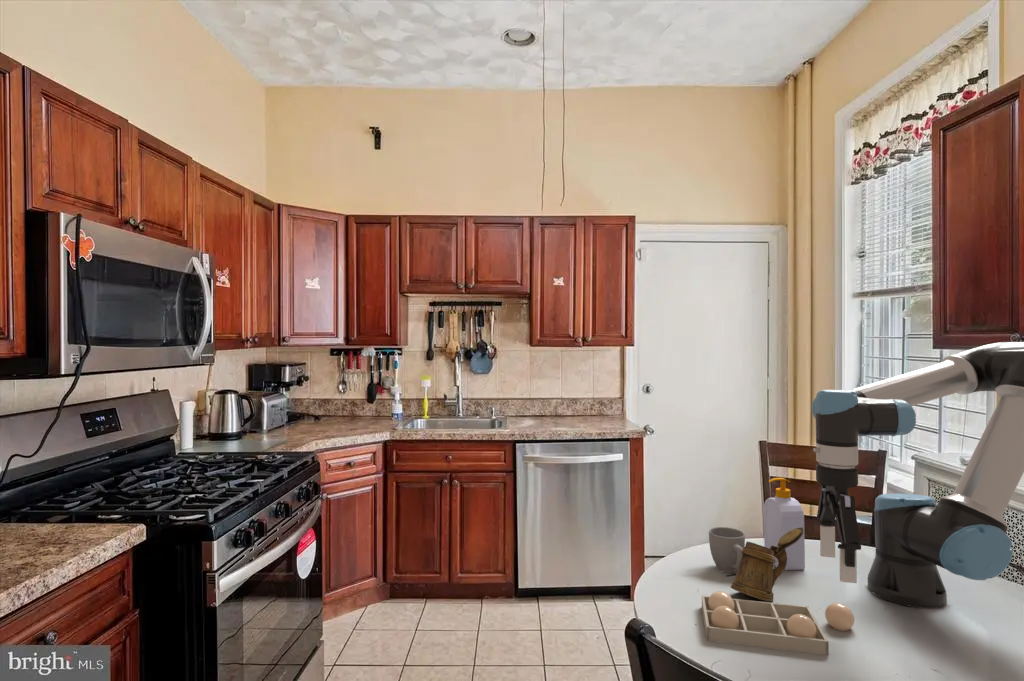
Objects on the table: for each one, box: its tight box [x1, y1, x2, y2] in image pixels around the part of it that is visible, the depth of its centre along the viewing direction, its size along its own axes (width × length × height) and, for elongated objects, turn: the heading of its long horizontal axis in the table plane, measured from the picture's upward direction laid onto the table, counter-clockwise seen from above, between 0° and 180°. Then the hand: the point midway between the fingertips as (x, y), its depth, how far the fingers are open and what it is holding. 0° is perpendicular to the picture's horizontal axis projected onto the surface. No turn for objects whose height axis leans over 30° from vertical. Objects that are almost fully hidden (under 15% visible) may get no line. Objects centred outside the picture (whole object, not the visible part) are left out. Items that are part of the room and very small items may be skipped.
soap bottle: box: [763, 477, 806, 571], centre depth 148 cm, size 9×7×23 cm
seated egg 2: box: [711, 606, 739, 630], centre depth 111 cm, size 5×5×5 cm
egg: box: [824, 602, 855, 632], centre depth 114 cm, size 5×5×5 cm
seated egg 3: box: [787, 614, 817, 639], centre depth 108 cm, size 5×5×5 cm
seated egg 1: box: [708, 590, 734, 611], centre depth 118 cm, size 5×5×5 cm
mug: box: [708, 526, 746, 574], centre depth 144 cm, size 12×9×10 cm
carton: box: [701, 595, 830, 656], centre depth 113 cm, size 22×14×3 cm
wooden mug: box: [730, 527, 803, 603], centre depth 128 cm, size 9×14×18 cm, turn 87°
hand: (837, 568), depth 114 cm, fingers open, 13 cm apart
